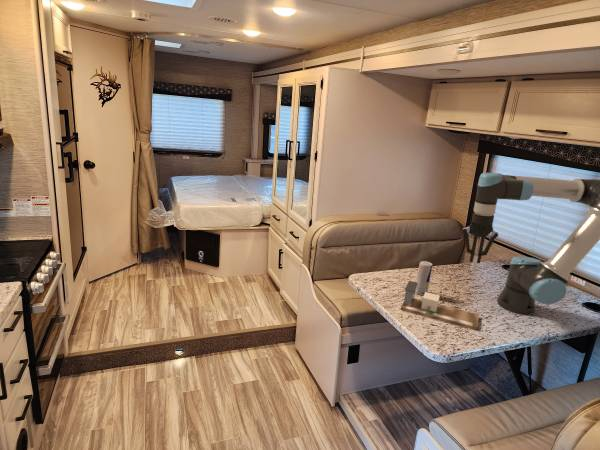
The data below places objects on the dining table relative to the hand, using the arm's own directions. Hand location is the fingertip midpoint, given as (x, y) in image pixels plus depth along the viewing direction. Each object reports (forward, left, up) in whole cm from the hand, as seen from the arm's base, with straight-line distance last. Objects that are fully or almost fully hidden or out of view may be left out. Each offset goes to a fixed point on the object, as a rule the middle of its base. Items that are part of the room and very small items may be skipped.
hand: (473, 269), depth 158 cm
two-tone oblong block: (+22, +2, -20) cm, 30 cm away
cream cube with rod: (+14, +4, -20) cm, 24 cm away
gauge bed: (+9, +3, -21) cm, 23 cm away
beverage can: (+19, -13, -21) cm, 31 cm away
